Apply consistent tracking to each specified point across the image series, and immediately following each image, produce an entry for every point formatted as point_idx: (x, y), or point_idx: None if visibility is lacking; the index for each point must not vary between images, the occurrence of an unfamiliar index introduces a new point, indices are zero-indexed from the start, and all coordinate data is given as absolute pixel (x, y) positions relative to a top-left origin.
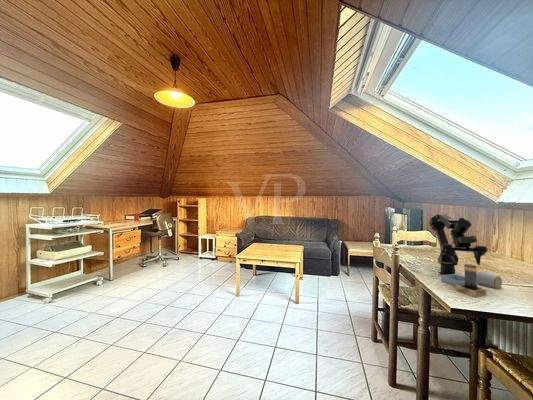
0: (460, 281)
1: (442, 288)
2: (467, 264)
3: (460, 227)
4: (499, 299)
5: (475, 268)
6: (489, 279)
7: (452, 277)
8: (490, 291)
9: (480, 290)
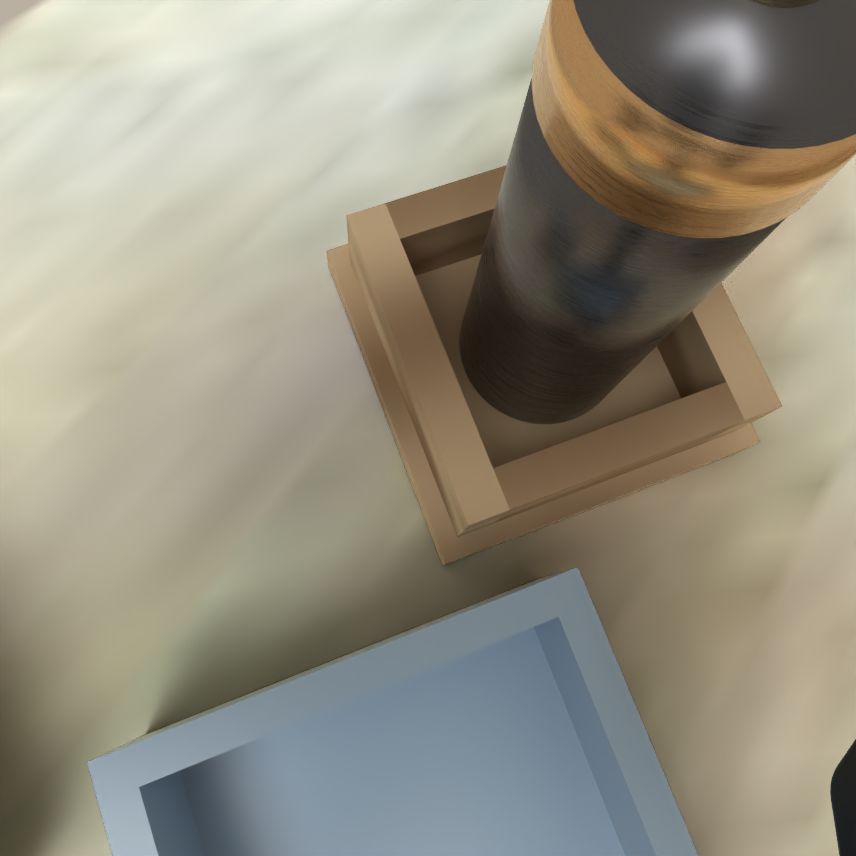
0: (579, 600)
1: (852, 620)
2: (782, 111)
3: None
4: (226, 201)
5: None
6: None
7: None
8: (46, 545)
9: (493, 171)
